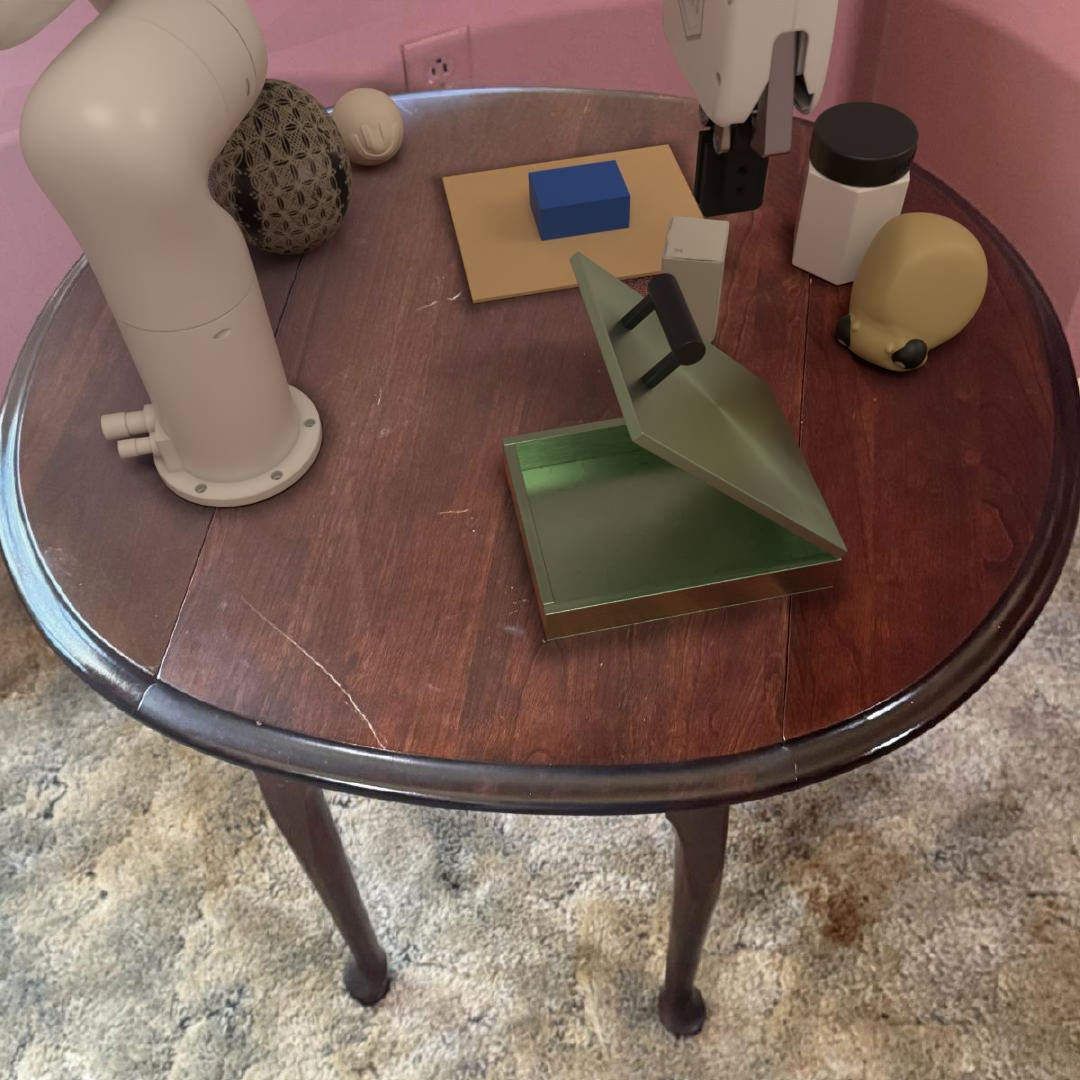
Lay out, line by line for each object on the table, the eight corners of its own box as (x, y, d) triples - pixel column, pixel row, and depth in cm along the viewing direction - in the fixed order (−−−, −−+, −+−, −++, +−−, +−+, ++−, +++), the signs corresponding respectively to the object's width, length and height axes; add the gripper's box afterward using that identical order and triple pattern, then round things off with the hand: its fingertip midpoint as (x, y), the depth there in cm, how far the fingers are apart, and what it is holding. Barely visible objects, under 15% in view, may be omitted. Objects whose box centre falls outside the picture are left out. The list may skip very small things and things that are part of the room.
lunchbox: (547, 647, 73) (545, 615, 70) (504, 472, 82) (501, 437, 79) (831, 593, 75) (842, 559, 72) (758, 428, 84) (765, 392, 81)
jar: (886, 291, 93) (921, 166, 84) (788, 282, 94) (811, 157, 85) (886, 226, 99) (919, 101, 89) (793, 218, 100) (815, 94, 90)
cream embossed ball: (351, 189, 104) (338, 125, 99) (329, 148, 109) (316, 85, 103) (418, 171, 106) (410, 106, 101) (394, 131, 110) (385, 68, 105)
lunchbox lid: (631, 441, 59) (699, 385, 56) (568, 258, 68) (624, 204, 66) (838, 558, 72) (900, 517, 69) (761, 391, 81) (814, 349, 79)
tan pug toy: (840, 344, 95) (795, 327, 86) (912, 211, 91) (873, 178, 82) (943, 396, 90) (908, 383, 81) (1023, 257, 87) (995, 228, 78)
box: (707, 398, 86) (724, 265, 76) (651, 391, 87) (660, 258, 77) (715, 352, 89) (731, 218, 79) (660, 346, 90) (670, 212, 80)
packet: (541, 241, 98) (540, 208, 95) (529, 204, 101) (528, 172, 99) (629, 228, 99) (630, 195, 96) (614, 191, 102) (615, 159, 100)
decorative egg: (273, 192, 105) (234, 38, 93) (385, 217, 102) (359, 61, 90) (207, 267, 98) (156, 112, 86) (324, 296, 95) (288, 139, 83)
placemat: (473, 303, 94) (472, 300, 94) (442, 180, 105) (442, 177, 104) (723, 264, 96) (724, 260, 96) (668, 147, 107) (668, 144, 107)
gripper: (631, -253, 47) (621, 135, 62) (739, -105, 38) (698, 309, 53) (801, -273, 48) (751, 116, 62) (946, -132, 39) (848, 284, 53)
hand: (727, 203), depth 57 cm, fingers closed
